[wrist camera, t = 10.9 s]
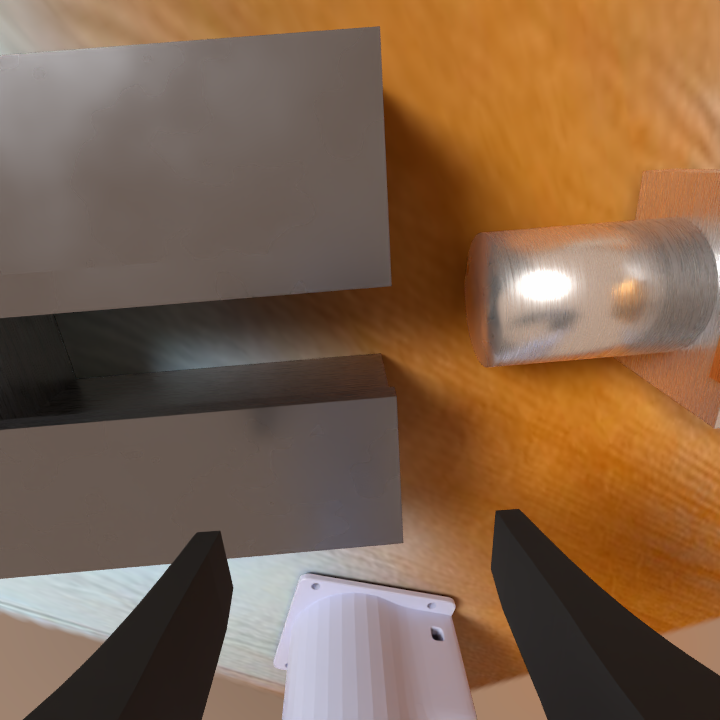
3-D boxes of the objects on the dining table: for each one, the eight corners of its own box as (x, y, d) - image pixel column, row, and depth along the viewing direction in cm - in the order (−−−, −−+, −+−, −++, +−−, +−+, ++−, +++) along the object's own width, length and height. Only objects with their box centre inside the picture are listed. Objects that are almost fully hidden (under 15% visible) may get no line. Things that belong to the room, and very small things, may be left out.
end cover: (463, 369, 21) (549, 512, 12) (466, 185, 18) (586, 205, 9) (652, 353, 21) (869, 484, 13) (689, 167, 18) (1014, 170, 9)
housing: (68, 472, 23) (-28, 581, 17) (-77, 109, 16) (-314, 78, 10) (386, 444, 23) (403, 543, 17) (364, 75, 17) (379, 26, 11)
